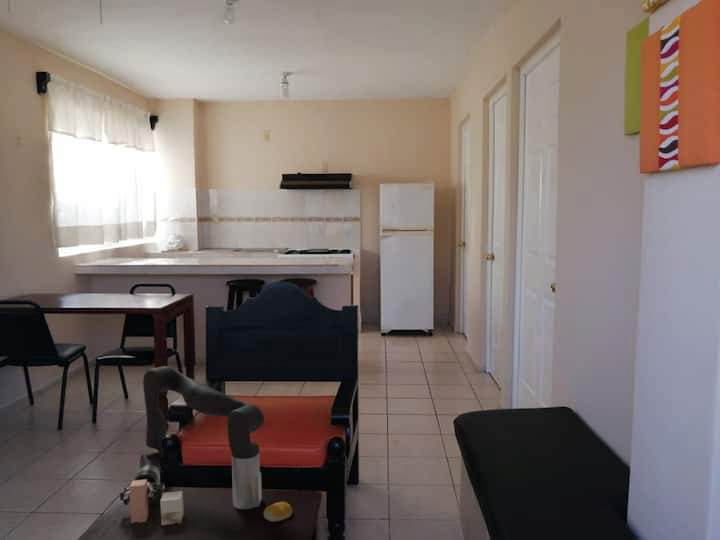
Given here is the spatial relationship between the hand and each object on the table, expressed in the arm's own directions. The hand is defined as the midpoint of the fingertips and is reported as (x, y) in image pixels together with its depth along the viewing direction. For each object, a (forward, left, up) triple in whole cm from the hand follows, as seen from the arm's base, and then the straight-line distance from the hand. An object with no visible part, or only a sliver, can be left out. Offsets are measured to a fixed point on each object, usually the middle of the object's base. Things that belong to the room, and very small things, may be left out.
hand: (137, 501), depth 180 cm
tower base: (-10, -1, -7) cm, 13 cm away
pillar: (0, -2, -7) cm, 7 cm away
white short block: (-10, -1, -3) cm, 11 cm away
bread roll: (-44, -2, -8) cm, 45 cm away
